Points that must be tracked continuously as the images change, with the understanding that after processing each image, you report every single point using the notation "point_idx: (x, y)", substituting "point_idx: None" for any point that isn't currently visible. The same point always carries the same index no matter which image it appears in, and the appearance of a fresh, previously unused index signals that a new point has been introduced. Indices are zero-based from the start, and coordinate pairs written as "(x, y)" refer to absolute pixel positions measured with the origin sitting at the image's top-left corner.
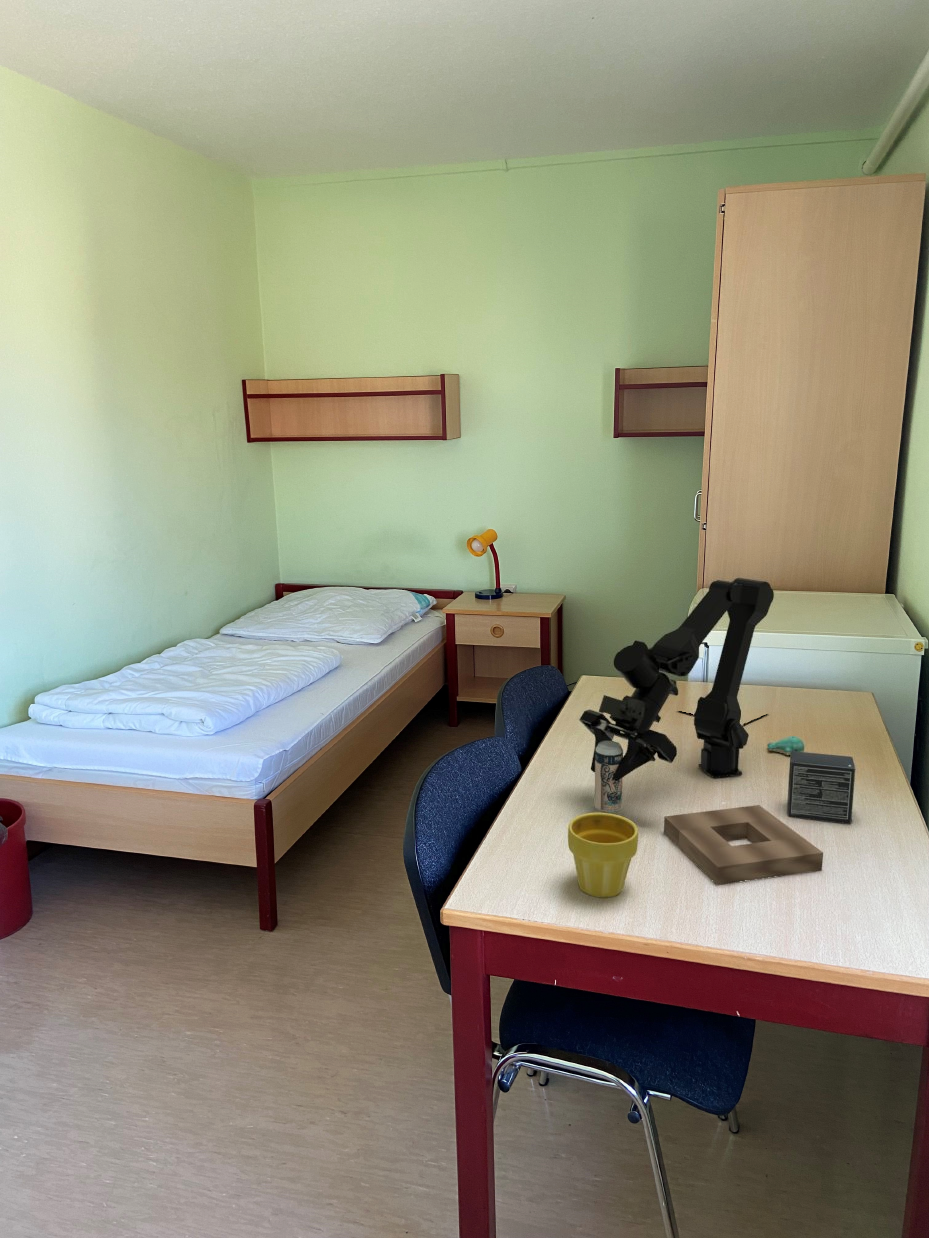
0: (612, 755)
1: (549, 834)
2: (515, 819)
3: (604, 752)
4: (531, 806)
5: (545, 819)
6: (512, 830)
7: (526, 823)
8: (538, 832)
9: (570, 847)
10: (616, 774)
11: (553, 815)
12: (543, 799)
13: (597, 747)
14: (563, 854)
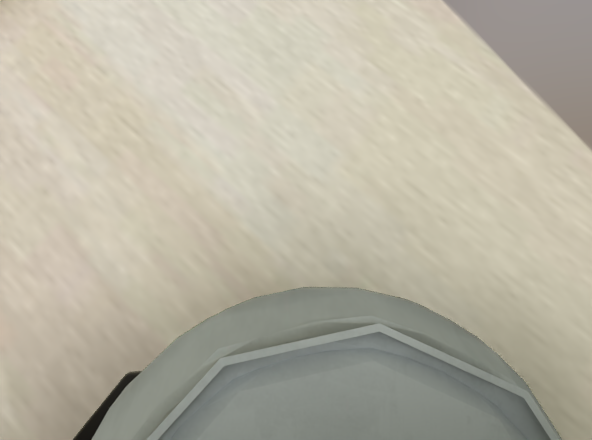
0: (110, 426)
1: (295, 87)
2: (470, 70)
3: (229, 324)
4: (544, 189)
5: (411, 157)
6: (398, 11)
7: (420, 80)
8: (332, 67)
9: None
10: (109, 403)
11: (425, 207)
12: (584, 277)
13: (468, 355)
14: (138, 26)
